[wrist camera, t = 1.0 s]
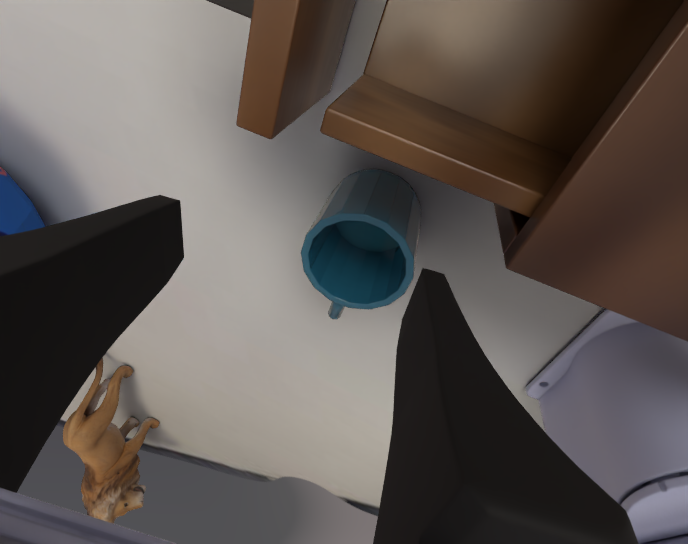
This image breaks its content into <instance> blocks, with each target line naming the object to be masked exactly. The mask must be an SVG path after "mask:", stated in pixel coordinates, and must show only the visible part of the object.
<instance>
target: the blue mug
mask: <svg viewBox="0 0 688 544" xmlns="http://www.w3.org/2000/svg"><path fill="white" fill-rule="evenodd" d="M420 223H421V207H420V203H419V200H418V197H417V196H416V194H415V192H414V190H413V189H412V188H411V187H410V185H409V184H408V183H407V182H405V181H404V180H403V179H402V178H400V177H398V176H397V175H395V174H393V173H390V172H387V171H383V170H377V169H367V170H361V171H358V172H355V173H353V174H351V175H349V176H347V177H346V178H344V179H343V180H342V181H341V182H340V183H339V184H338V185H337V187H336V188H335V189H334V190H333V191H332V193H331V195H330V196H329V198H328V200H327V201H326V203H325V205H324V206H323V208H322V210H321V211H320V213H319V215H318V216H317V218H316V220H315V221H314V223H313V225H312V226H311V228H310V230H309V231H308V233H307V235H306V237H305V240H304V244H303V247H302V250H301V256H302V262H303V268H304V272H305V273H306V275H307V277H308V278H309V280H310V282H311V283H312V285H313V286H314V288H316V289H317V290H318V291H319V292H320V293H322V294H323V295H324V296H325V297H327V298H328V299H329V300H331V301H332V303H331V306H330V308H329V311H328V314H329V317H330V318H332V319H338V318H339V317H340V316H341V314H342V312H343V310H344V307H345V306H346V307H348V308H357V309H374V308H378V307H382V306H386V305H389V304H391V303H392V302H393V301H395V300H396V299H398V298H399V297H401V296H402V295H403V294H404V293H405V292H406V290H407V288H408V286H409V285H410V283H411V281H412V279H413V276H414V269H415V262H416V255H417V247H418V240H419V233H420Z"/></svg>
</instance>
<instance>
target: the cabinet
mask: <svg viewBox="0 0 688 544" xmlns="http://www.w3.org/2000/svg"><path fill="white" fill-rule="evenodd" d="M494 208H495V213H496V218H497V223H498V229H499V234H500V239H501V244H502V249H503V253H504V261H505V266H506V268H507V269H509V270H511V271H514V272H516V273H519V274H521V275H524V276H526V277H529V278H531V279H534V280H536V281H538V282H541V283H543V284H546V285H548V286H551V287H553V288H556V289H558V290H561V291H563V292H566V293H568V294H571V295H573V296H576V297H578V298H581V299H583V300H586V301H588V302H591V303H593V304H595V305H598V306H600V307H603V308H605V309H608V310H610V311H613V312H615V313H618V314H620V315H623V316H625V317H628V318H630V319H633V320H635V321H638V322H640V323H643V324H645V325H648V326H650V327H652V328H655V329H657V330H660V331H662V332H665V333H667V334H670V335H672V336H675V337H677V338H680V339H682V340H685V341H687V342H688V0H685V1H684V3H683V4H682V5H681V7H680V8H679V10H678V11H677V12H676V14H675V15H674V17H673V18H672V19H671V21H670V22H669V24H668V25H667V26H666V28H665V29H664V31H663V32H662V33H661V35H660V36H659V38H658V39H657V40H656V42H655V43H654V45H653V46H652V47H651V49H650V50H649V52H648V53H647V54H646V56H645V57H644V59H643V60H642V61H641V63H640V64H639V66H638V67H637V68H636V70H635V71H634V73H633V74H632V75H631V77H630V78H629V80H628V81H627V82H626V84H625V85H624V87H623V88H622V89H621V91H620V92H619V94H618V95H617V96H616V98H615V99H614V101H613V102H612V104H611V105H610V106H609V108H608V109H607V111H606V112H605V113H604V115H603V116H602V118H601V119H600V120H599V122H598V123H597V125H596V126H595V127H594V129H593V130H592V132H591V133H590V134H589V136H588V137H587V139H586V140H585V141H584V143H583V144H582V146H581V147H580V148H579V150H578V151H577V153H576V154H575V155H574V157H573V158H572V160H571V161H570V162H569V164H568V165H567V167H566V168H565V169H564V171H563V172H562V174H561V175H560V176H559V178H558V179H557V181H556V182H555V183H554V185H553V186H552V188H551V189H550V190H549V192H548V193H547V195H546V196H545V197H544V199H543V200H542V202H541V203H540V204H539V206H538V207H537V209H536V210H535V211H534V213H533V214H532V216H531V217H527V216H525V215H522V214H520V213H517V212H515V211H512V210H510V209H508V208H505V207H503V206H500V205H498V204H495V203H494Z"/></svg>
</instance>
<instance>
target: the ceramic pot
mask: <svg viewBox="0 0 688 544" xmlns="http://www.w3.org/2000/svg"><path fill="white" fill-rule="evenodd" d="M43 227H45V225H44V223H43V221H42V219H41V218H40V216H39V214H38V212H37V210H36V209H35V207H34V205H33V203H32V202H31V200H30V199H29V198H28V197H27V195H26V194H25V193H24V192H23V191H22V190H21V188H20V187H19V186H18V185H17V184H16V183H15V181H14V180H13V179H12V178H11V177H10V176H9V174H8V173H7V172H6V171H4V170H3V169H2V168H1V167H0V236H5V235H10V234H15V233H20V232H25V231H30V230H34V229H39V228H43Z"/></svg>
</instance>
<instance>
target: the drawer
mask: <svg viewBox="0 0 688 544" xmlns="http://www.w3.org/2000/svg"><path fill="white" fill-rule="evenodd" d="M207 1H209V2H212V3H214V4H217V5H219V6H221V7H224V8H226V9H229V10H231V11H234V12H236V13H239V14H241V15H244V16H246V17H249V18H251V25H250V32H249V39H248V46H247V53H246V60H245V67H244V74H243V81H242V88H241V95H240V102H239V109H238V116H237V123H236V125H237V126H239V127H241V128H244V129H246V130H248V131H251V132H253V133H256V134H258V135H261V136H263V137H266V138H268V139H273V138H274V137H275V136H276V135H278V134H279V133H280V132H281V131H282V130H284V129H285V128H286V127H287V126H289V125H290V124H291V123H292V122H294V121H295V120H296V119H297V118H298V117H300V116H301V115H302V114H303V113H305V112H306V111H307V110H308V109H310V108H311V107H312V106H313V105H314V104H316V103H317V102H318V101H319V100H321V99H322V98H323V97H324V96H326V95H327V94H328V93H329V92H330V90H331V87H332V83H333V79H334V76H335V72H336V69H337V65H338V61H339V58H340V54H341V51H342V47H343V43H344V40H345V36H346V33H347V29H348V25H349V22H350V18H351V15H352V11H353V7H354V4H355V0H207ZM684 1H685V0H387V1H386V4H385V7H384V11H383V14H382V17H381V20H380V23H379V26H378V29H377V33H376V36H375V39H374V42H373V45H372V48H371V51H370V55H369V58H368V61H367V64H366V67H365V70H364V73H363V75H362V76H361V77H360V78H359V79H358V80H357V81H356V82H355V83H354V84H352V85H351V86H350V87H349V88H348V89H347V90H346V91H345V92H344V93H343V94H342V95H340V96H339V97H338V98H337V99H336V100H335V101H334V102H333V103H332V104H331V105H330V106H328V107H327V109H326V111H325V114H324V118H323V121H322V125H321V129H320V131H321V133H322V134H325V135H327V136H330V137H332V138H335V139H337V140H340V141H342V142H345V143H347V144H349V145H352V146H354V147H357V148H359V149H362V150H364V151H367V152H369V153H372V154H374V155H377V156H379V157H382V158H384V159H387V160H389V161H391V162H394V163H396V164H399V165H401V166H404V167H406V168H409V169H411V170H414V171H416V172H419V173H421V174H424V175H426V176H428V177H431V178H433V179H436V180H438V181H441V182H443V183H446V184H448V185H451V186H453V187H456V188H458V189H461V190H463V191H466V192H468V193H470V194H473V195H475V196H478V197H480V198H483V199H485V200H488V201H490V202H493V203H495V204H498V205H500V206H503V207H505V208H508V209H510V210H512V211H515V212H517V213H520V214H522V215H525V216H527V217H531V216H532V214H533V213H534V211H535V210H536V209H537V207H538V206H539V204H540V203H541V202H542V200H543V199H544V197H545V196H546V195H547V193H548V192H549V190H550V189H551V188H552V186H553V185H554V183H555V182H556V181H557V179H558V178H559V176H560V175H561V174H562V172H563V171H564V169H565V168H566V167H567V165H568V164H569V162H570V161H571V160H572V158H573V157H574V155H575V154H576V153H577V151H578V150H579V148H580V147H581V146H582V144H583V143H584V141H585V140H586V139H587V137H588V136H589V134H590V133H591V132H592V130H593V129H594V127H595V126H596V125H597V123H598V122H599V120H600V119H601V118H602V116H603V115H604V113H605V112H606V111H607V109H608V108H609V106H610V105H611V104H612V102H613V101H614V99H615V98H616V96H617V95H618V94H619V92H620V91H621V89H622V88H623V87H624V85H625V84H626V82H627V81H628V80H629V78H630V77H631V75H632V74H633V73H634V71H635V70H636V68H637V67H638V66H639V64H640V63H641V61H642V60H643V59H644V57H645V56H646V54H647V53H648V52H649V50H650V49H651V47H652V46H653V45H654V43H655V42H656V40H657V39H658V38H659V36H660V35H661V33H662V32H663V31H664V29H665V28H666V26H667V25H668V24H669V22H670V21H671V19H672V18H673V17H674V15H675V14H676V12H677V11H678V10H679V8H680V7H681V5H682V4H683V3H684Z"/></svg>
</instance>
